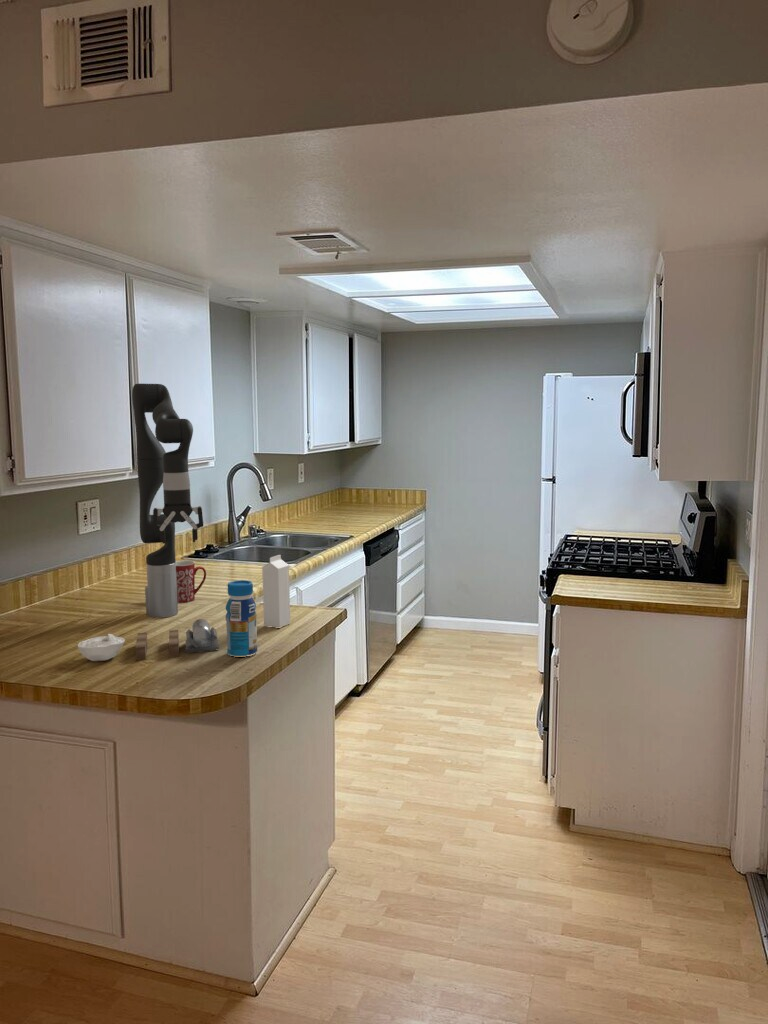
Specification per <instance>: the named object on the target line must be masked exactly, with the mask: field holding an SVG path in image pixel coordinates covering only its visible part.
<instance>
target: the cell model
mask: <svg viewBox="0 0 768 1024" xmlns="http://www.w3.org/2000/svg"><path fill="white" fill-rule="evenodd" d="M125 641H126V639H125V638H123V637H121V636H116V635H114V634H112V633H107V635H102V636H94V637H92V638H88V639H86V640H83V641H79V643H78V644H77V648H78V650H79V652H80V654H81V655H82V657H84V658H86V660H87V659H88V660H89V661H91V662H104V661H108V660H110V659H113V658H114V657H116V656H118V654H119V652H120V651H121V649H122V647H123V645H124V643H125Z"/></svg>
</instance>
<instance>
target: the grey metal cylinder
mask: <svg viewBox="0 0 768 1024" xmlns="http://www.w3.org/2000/svg"><path fill="white" fill-rule="evenodd" d="M210 630H211V627H210V623H209V622H208V621H207V619H205V618H199V619H196V620H195V621H194V622H193V623H192V632H193V641H194V643H195V645H197V646H198V647H206V646H207V645H209V644H210V642H211V633H210Z"/></svg>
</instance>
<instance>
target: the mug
mask: <svg viewBox="0 0 768 1024" xmlns="http://www.w3.org/2000/svg"><path fill="white" fill-rule="evenodd" d="M195 564H196V562H195V561H194V560H178V561H177V560H176V581H177V603H180V604H183V603H190V602H193V601H194V600H196V599H195V596H196V594H197V593H198V591H200V589H201V588H202V586H203V585H204V583H205V581H206V578H207V571H206V568H205V567H204V566H196V567H195ZM198 570H202V571H203V578H202V580H201V582H200V583H199V585H198V586H197V587H196V588H195V576H196V574H197V571H198Z"/></svg>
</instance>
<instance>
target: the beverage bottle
mask: <svg viewBox="0 0 768 1024" xmlns="http://www.w3.org/2000/svg"><path fill="white" fill-rule="evenodd" d="M253 585H254V584H253V582H252V581H250V580H242V579H241V580H233V581H229V582H228V584H227V594H228V596H229V598H228V601H227V602H226V603H225V610H226V613H225V614H226V615H225V621H226V642H227V643H226V644H227V645H226V646H227V649H226V650H227V655H228V656H229V655H230V656H229V657H231V656H247V655H251V654H254V653H256V652H257V653H258V630H257V629H258V628H257V627H258V625H257V620H258V619H257V618H258V613H257V611H256V609H257V604H256V602H255V599H254V598H253V597H252V595H253V594H254V586H253ZM257 653H256V654H257Z"/></svg>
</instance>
